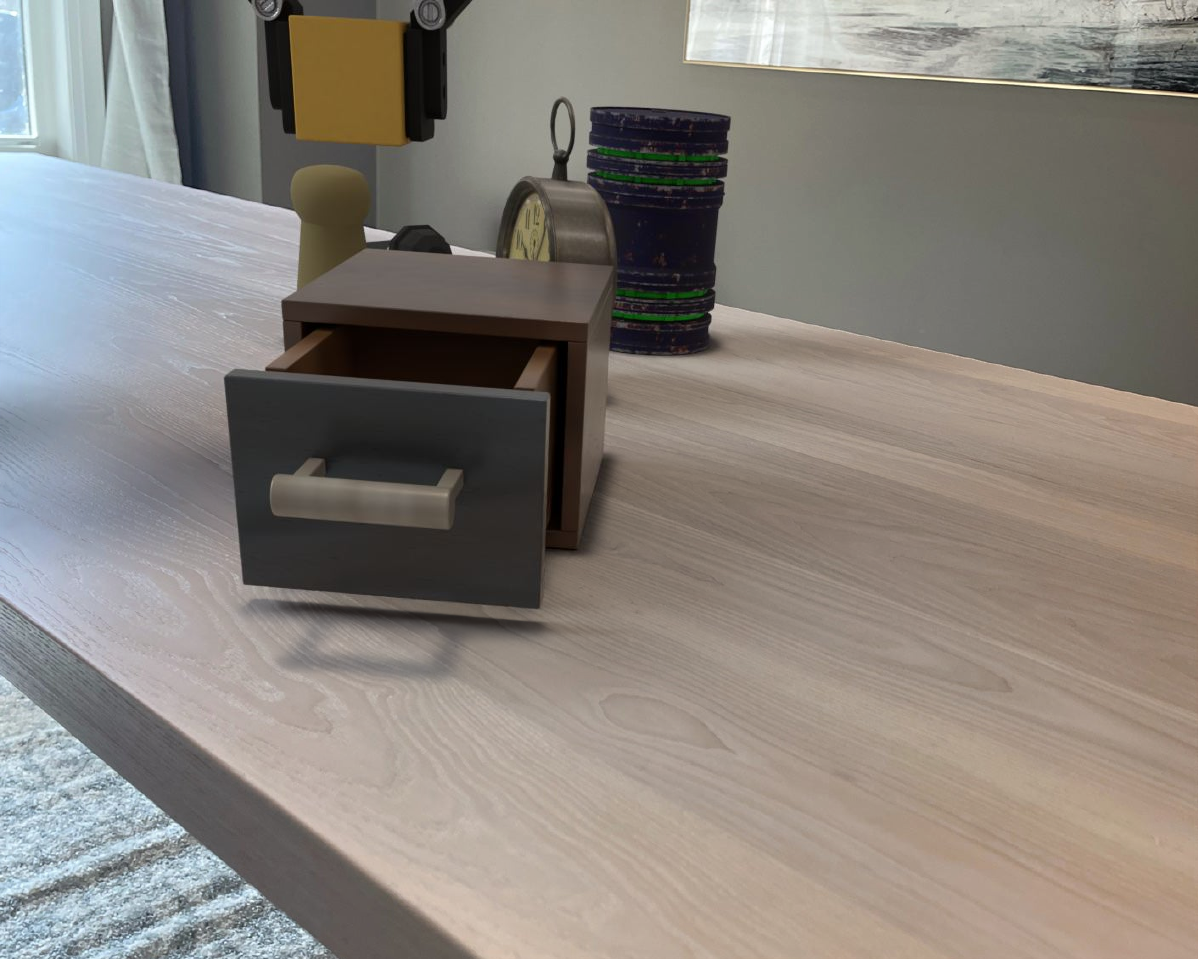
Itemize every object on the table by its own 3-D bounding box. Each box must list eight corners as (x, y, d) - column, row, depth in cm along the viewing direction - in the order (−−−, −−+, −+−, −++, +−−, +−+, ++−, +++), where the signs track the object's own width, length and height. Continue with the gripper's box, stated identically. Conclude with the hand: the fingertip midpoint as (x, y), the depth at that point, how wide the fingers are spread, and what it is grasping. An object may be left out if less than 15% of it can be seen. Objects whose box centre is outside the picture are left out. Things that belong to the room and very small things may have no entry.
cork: (278, 345, 88) (265, 166, 82) (315, 328, 93) (306, 159, 87) (361, 354, 86) (354, 174, 81) (395, 337, 92) (390, 166, 86)
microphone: (304, 301, 116) (424, 313, 102) (278, 236, 112) (398, 239, 98) (353, 278, 118) (477, 286, 104) (329, 213, 115) (453, 212, 101)
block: (295, 140, 53) (287, 15, 50) (322, 133, 57) (316, 16, 54) (402, 147, 53) (399, 21, 50) (422, 139, 56) (419, 22, 54)
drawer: (525, 656, 45) (531, 432, 41) (204, 629, 45) (179, 405, 41) (574, 498, 60) (582, 324, 56) (333, 479, 61) (324, 305, 57)
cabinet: (577, 550, 57) (588, 322, 52) (296, 527, 57) (280, 300, 52) (603, 456, 69) (614, 266, 64) (372, 438, 70) (365, 248, 65)
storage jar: (716, 358, 91) (739, 122, 84) (578, 350, 91) (588, 112, 83) (705, 330, 100) (725, 112, 92) (578, 322, 100) (588, 104, 92)
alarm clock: (488, 367, 86) (491, 88, 77) (565, 365, 87) (576, 92, 79) (540, 409, 77) (550, 101, 69) (624, 406, 79) (644, 105, 70)
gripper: (53, -499, 42) (130, 130, 51) (568, -474, 42) (551, 155, 51) (139, -428, 48) (193, 119, 58) (585, -407, 48) (567, 141, 57)
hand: (360, 130), depth 54 cm, fingers closed on block, 4 cm apart
